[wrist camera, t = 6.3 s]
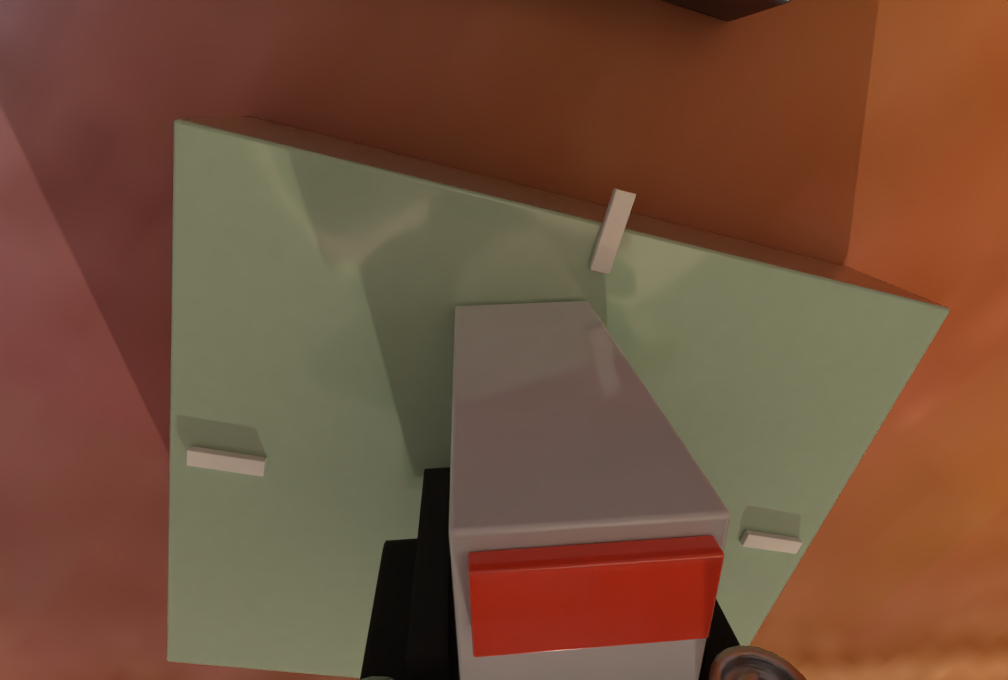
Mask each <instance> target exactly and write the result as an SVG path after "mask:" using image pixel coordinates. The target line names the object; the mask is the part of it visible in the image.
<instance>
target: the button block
mask: <svg viewBox="0 0 1008 680" xmlns="http://www.w3.org/2000/svg"><path fill="white" fill-rule="evenodd" d="M664 1H667V2H670V3H673V4H676V5H679V6H682V7H685V8H689V9H692V10H695V11H698V12H701V13H704V14H707V15H710V16H713V17H716V18H719V19H722V20H725V21H733V20H736V19H739V18H742V17H745V16H748V15H751V14H754V13H757V12H760V11H764V10H767V9H770V8H773V7H776V6H779V5H782V4H785V3H788V2H790V1H791V0H664Z"/></svg>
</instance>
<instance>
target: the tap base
mask: <svg viewBox="0 0 1008 680" xmlns="http://www.w3.org/2000/svg"><path fill="white" fill-rule="evenodd" d="M635 197H636V194H635V193H632V192H628V191H624V190H621V189H617V188H614V189H613V193H612V196H611V199H610V202H609V205H608V206H604V205H600V204H596V203H592V202H588V201H584V200H580V199H576V198H572V197H568V196H564V195H560V194H556V193H552V192H548V191H544V190H540V189H536V188H532V187H528V186H524V185H520V184H516V183H512V182H508V181H504V180H500V179H496V178H492V177H488V176H484V175H480V174H476V173H472V172H468V171H464V170H460V169H456V168H452V167H448V166H445V165H441V164H437V163H433V162H429V161H425V160H421V159H417V158H413V157H409V156H405V155H401V154H397V153H393V152H389V151H385V150H381V149H377V148H373V147H369V146H365V145H361V144H357V143H353V142H349V141H345V140H341V139H337V138H333V137H329V136H325V135H321V134H317V133H313V132H309V131H305V130H301V129H297V128H293V127H289V126H285V125H281V124H277V123H273V122H269V121H265V120H261V119H257V118H253V117H249V116H242V117H214V118H187V119H176V120H175V122H174V166H173V239H172V313H171V386H170V459H169V532H168V605H167V661H170V662H181V663H192V664H204V665H215V666H226V667H238V668H249V669H260V670H272V671H283V672H295V673H306V674H317V675H329V676H340V677H351V678H360V676H361V670H362V665H363V659H364V653H365V647H366V642H367V636H368V630H369V625H370V619H371V613H372V607H373V602H374V596H375V590H376V585H377V579H378V573H379V568H380V562H381V556H382V550H383V546H384V543H385V541H386V540H401V539H416V538H417V537H418V527H419V517H420V507H421V497H422V486H423V476H424V469H428V468H445V467H450V458H451V419H452V380H453V340H454V309H455V307H456V306H471V305H496V304H521V303H545V302H570V301H588V302H589V303H590V304H591V306H592V307H593V309H594V310H595V312H596V313H597V315H598V316H599V318H600V319H601V321H602V322H603V324H604V325H605V327H606V328H607V330H608V331H609V333H610V334H611V336H612V337H613V339H614V340H615V342H616V343H617V345H618V346H619V348H620V349H621V351H622V352H623V354H624V355H625V357H626V358H627V360H628V361H629V363H630V364H631V366H632V367H633V369H634V370H635V371H636V373H637V374H638V376H639V377H640V379H641V380H642V382H643V383H644V385H645V386H646V388H647V389H648V391H649V392H650V394H651V395H652V397H653V398H654V400H655V401H656V403H657V404H658V406H659V407H660V409H661V410H662V412H663V413H664V415H665V416H666V418H667V419H668V421H669V422H670V424H671V425H672V427H673V428H674V430H675V431H676V433H677V434H678V436H679V437H680V439H681V440H682V442H683V443H684V445H685V446H686V448H687V449H688V451H689V452H690V454H691V455H692V457H693V458H694V460H695V461H696V463H697V464H698V466H699V467H700V469H701V470H702V472H703V473H704V475H705V476H706V478H707V479H708V481H709V482H710V484H711V485H712V486H713V488H714V489H715V491H716V492H717V494H718V495H719V497H720V498H721V500H722V501H723V503H724V504H725V506H726V507H727V509H728V510H729V513H730V521H729V526H728V531H727V537H726V542H725V547H724V552H723V553H724V561H723V566H722V571H721V576H720V581H719V586H718V591H717V596H716V599H717V601H718V603H719V605H720V607H721V609H722V611H723V613H724V615H725V617H726V619H727V620H728V622H729V624H730V626H731V628H732V630H733V632H734V634H735V636H736V638H737V640H738V642H739V643H740V645H744V646H749V645H750V643H751V642H752V640H753V638H754V637H755V635H756V633H757V632H758V630H759V628H760V627H761V625H762V623H763V622H764V620H765V618H766V617H767V615H768V613H769V612H770V610H771V608H772V607H773V605H774V603H775V602H776V600H777V598H778V597H779V595H780V593H781V592H782V590H783V588H784V587H785V585H786V583H787V582H788V580H789V578H790V577H791V575H792V573H793V572H794V570H795V568H796V567H797V565H798V563H799V562H800V560H801V558H802V557H803V555H804V553H805V552H806V550H807V548H808V547H809V545H810V543H811V542H812V540H813V538H814V537H815V535H816V533H817V532H818V530H819V528H820V527H821V525H822V523H823V522H824V520H825V518H826V517H827V515H828V513H829V512H830V510H831V508H832V507H833V505H834V503H835V502H836V500H837V498H838V497H839V495H840V493H841V492H842V490H843V488H844V487H845V485H846V483H847V482H848V480H849V478H850V477H851V475H852V473H853V472H854V470H855V468H856V467H857V465H858V463H859V462H860V460H861V458H862V457H863V455H864V453H865V452H866V450H867V448H868V447H869V445H870V443H871V442H872V440H873V438H874V437H875V435H876V433H877V432H878V430H879V428H880V427H881V425H882V423H883V422H884V420H885V418H886V417H887V415H888V413H889V412H890V410H891V408H892V407H893V405H894V403H895V402H896V400H897V398H898V397H899V395H900V393H901V392H902V390H903V389H904V387H905V385H906V384H907V382H908V380H909V379H910V377H911V375H912V374H913V372H914V370H915V369H916V367H917V365H918V364H919V362H920V360H921V359H922V357H923V355H924V354H925V352H926V350H927V349H928V347H929V345H930V344H931V342H932V340H933V339H934V337H935V335H936V334H937V332H938V330H939V329H940V327H941V325H942V324H943V322H944V320H945V319H946V317H947V315H948V314H949V312H950V310H949V309H948V308H947V307H945V306H943V305H941V304H938V303H936V302H933V301H931V300H928V299H926V298H923V297H921V296H918V295H916V294H914V293H911V292H909V291H906V290H904V289H901V288H899V287H896V286H894V285H891V284H889V283H887V282H884V281H882V280H879V279H877V278H874V277H872V276H869V275H867V274H864V273H862V272H860V271H857V270H855V269H852V268H850V267H847V266H843V265H839V264H835V263H831V262H827V261H823V260H819V259H815V258H811V257H807V256H803V255H799V254H795V253H791V252H787V251H783V250H779V249H775V248H771V247H767V246H763V245H759V244H755V243H751V242H747V241H743V240H739V239H735V238H731V237H727V236H723V235H719V234H715V233H711V232H707V231H703V230H699V229H695V228H691V227H687V226H683V225H679V224H675V223H671V222H667V221H663V220H660V219H656V218H652V217H648V216H644V215H640V214H636V213H632V212H631V209H632V206H633V203H634V200H635Z"/></svg>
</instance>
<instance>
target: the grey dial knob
mask: <svg viewBox="0 0 1008 680" xmlns="http://www.w3.org/2000/svg"><path fill="white" fill-rule="evenodd" d="M729 521H730V513H729V510H728V509H727V507H726V506H725V504H724V503H723V501H722V500H721V498H720V497H719V495H718V494H717V492H716V491H715V489H714V488H713V486H712V485H711V484H710V482H709V481H708V479H707V478H706V476H705V475H704V473H703V472H702V470H701V469H700V467H699V466H698V464H697V463H696V461H695V460H694V458H693V457H692V455H691V454H690V452H689V451H688V449H687V448H686V446H685V445H684V443H683V442H682V440H681V439H680V437H679V436H678V434H677V433H676V431H675V430H674V428H673V427H672V425H671V424H670V422H669V421H668V419H667V418H666V416H665V415H664V413H663V412H662V410H661V409H660V407H659V406H658V404H657V403H656V401H655V400H654V398H653V397H652V395H651V394H650V392H649V391H648V389H647V388H646V386H645V385H644V383H643V382H642V380H641V379H640V377H639V376H638V374H637V373H636V371H635V370H634V369H633V367H632V366H631V364H630V363H629V361H628V360H627V358H626V357H625V355H624V354H623V352H622V351H621V349H620V348H619V346H618V345H617V343H616V342H615V340H614V339H613V337H612V336H611V334H610V333H609V331H608V330H607V328H606V327H605V325H604V324H603V322H602V321H601V319H600V318H599V316H598V315H597V313H596V312H595V310H594V309H593V307H592V306H591V304H590V303H589V302H588V301H570V302H545V303H521V304H496V305H471V306H456V307H455V309H454V340H453V380H452V419H451V458H450V497H449V546H450V559H451V573H452V586H453V600H454V613H455V627H456V641H457V654H458V668H459V680H698V679H699V674H700V669H701V664H702V659H703V654H704V649H705V644H706V639H707V638H708V637H709V632H710V627H711V622H712V617H713V612H714V607H715V602H716V596H717V591H718V586H719V581H720V576H721V571H722V566H723V561H724V553H723V552H724V547H725V542H726V537H727V531H728V526H729Z"/></svg>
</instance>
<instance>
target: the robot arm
mask: <svg viewBox="0 0 1008 680" xmlns="http://www.w3.org/2000/svg"><path fill="white" fill-rule="evenodd" d="M449 497H450V467H445V468H428V469H424V476H423V486H422V497H421V507H420V517H419V527H418V537H417V538H416V539H401V540H386V541H385V543H384V546H383V550H382V556H381V562H380V568H379V573H378V579H377V585H376V590H375V596H374V602H373V607H372V613H371V619H370V625H369V630H368V636H367V642H366V647H365V653H364V659H363V665H362V670H361V676H360V680H459V668H458V654H457V641H456V627H455V613H454V600H453V586H452V573H451V559H450V546H449ZM698 680H806V679H805V677H804V676H803V675H802V674H801V673H800V672H799V671H798V670H797V669H796V668H795V667H793V666H792V665H791V664H790V663H789V662H788V661H786V660H784V659H783V658H781V657H779V656H778V655H776V654H774V653H773V652H770V651H767V650H764V649H761V648H759V647H753V646H744V645H740V643H739V642H738V640H737V638H736V636H735V634H734V632H733V630H732V628H731V626H730V624H729V622H728V620H727V619H726V617H725V615H724V613H723V611H722V609H721V607H720V605H719V603H718V601H717V599H716V602H715V607H714V612H713V617H712V622H711V627H710V632H709V637H708V638H707V639H706V644H705V649H704V654H703V659H702V664H701V669H700V674H699V679H698Z"/></svg>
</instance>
